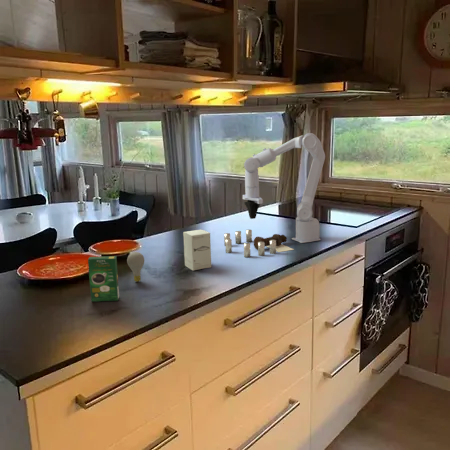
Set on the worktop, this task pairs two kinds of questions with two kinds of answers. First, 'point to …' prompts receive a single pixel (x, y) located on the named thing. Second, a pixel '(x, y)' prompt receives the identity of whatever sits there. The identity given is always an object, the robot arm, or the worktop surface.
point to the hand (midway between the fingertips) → (252, 218)
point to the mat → (281, 248)
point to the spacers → (248, 244)
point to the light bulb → (136, 264)
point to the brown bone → (266, 241)
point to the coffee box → (103, 278)
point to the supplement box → (197, 249)
